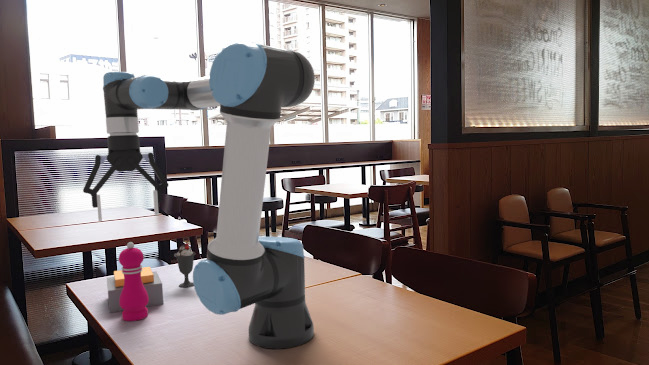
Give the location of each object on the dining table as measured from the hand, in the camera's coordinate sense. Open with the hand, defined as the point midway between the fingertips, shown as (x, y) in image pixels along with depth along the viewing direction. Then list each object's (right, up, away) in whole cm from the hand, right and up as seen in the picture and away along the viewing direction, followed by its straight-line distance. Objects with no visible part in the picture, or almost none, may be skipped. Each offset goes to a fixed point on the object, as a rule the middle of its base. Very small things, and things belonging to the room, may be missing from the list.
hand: (129, 217), depth 130 cm
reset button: (-4, -24, +16) cm, 29 cm away
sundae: (+7, -24, +30) cm, 39 cm away
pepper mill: (+1, -26, +3) cm, 27 cm away
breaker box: (-4, -25, +16) cm, 30 cm away
